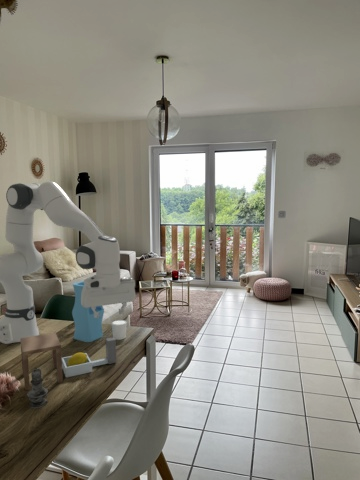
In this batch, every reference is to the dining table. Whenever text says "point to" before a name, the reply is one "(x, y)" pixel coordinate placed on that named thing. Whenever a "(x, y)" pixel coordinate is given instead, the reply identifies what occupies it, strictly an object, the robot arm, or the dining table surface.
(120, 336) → the grey white cylinder
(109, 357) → the slider
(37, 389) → the gray stone ornament
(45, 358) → the dining table surface
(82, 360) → the lemon
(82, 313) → the blue angular vessel
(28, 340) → the tunnel
